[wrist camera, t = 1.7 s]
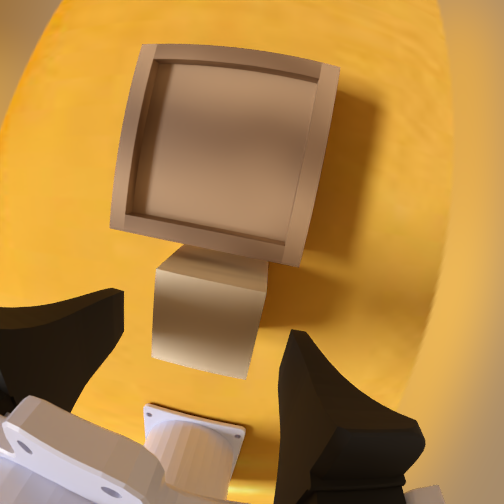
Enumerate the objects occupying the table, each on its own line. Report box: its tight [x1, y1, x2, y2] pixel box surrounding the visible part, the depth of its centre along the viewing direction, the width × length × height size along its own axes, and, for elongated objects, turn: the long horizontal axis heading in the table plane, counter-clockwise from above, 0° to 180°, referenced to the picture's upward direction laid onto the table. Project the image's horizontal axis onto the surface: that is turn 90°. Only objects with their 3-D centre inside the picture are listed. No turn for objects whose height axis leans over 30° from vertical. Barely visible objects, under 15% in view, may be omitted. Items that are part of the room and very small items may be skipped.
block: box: [152, 244, 269, 380], centre depth 15 cm, size 4×4×5 cm
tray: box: [110, 44, 340, 267], centre depth 13 cm, size 9×9×3 cm
